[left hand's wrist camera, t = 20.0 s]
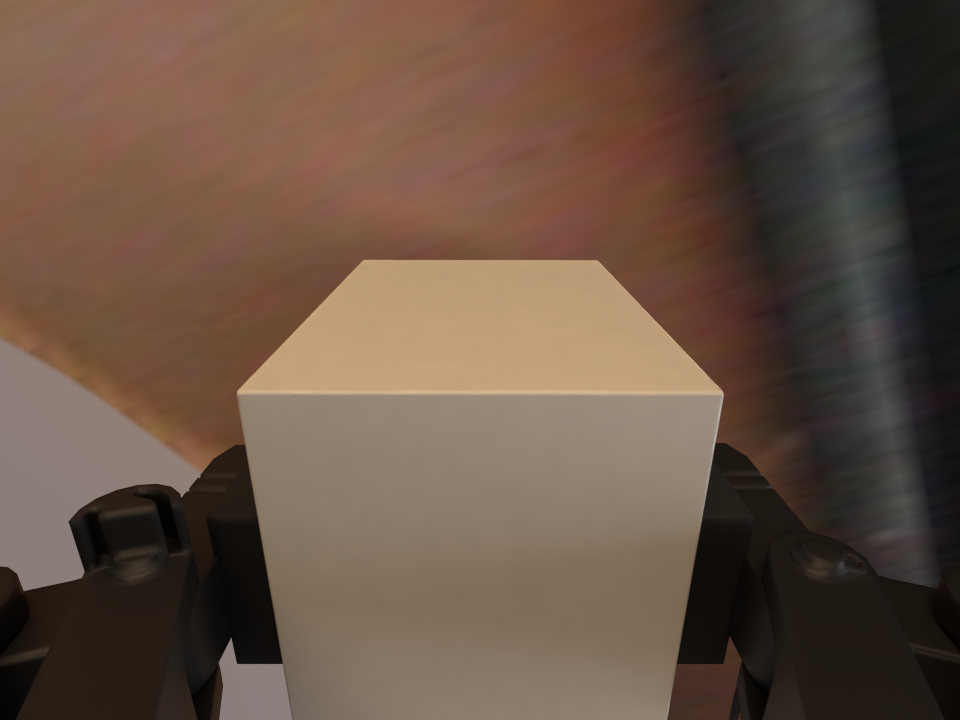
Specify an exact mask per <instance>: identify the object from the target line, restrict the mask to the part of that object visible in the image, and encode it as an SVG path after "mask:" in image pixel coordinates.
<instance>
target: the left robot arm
mask: <svg viewBox="0 0 960 720" xmlns="http://www.w3.org/2000/svg"><path fill="white" fill-rule="evenodd" d="M69 524H70V527H71V530H72V533H73V536H74V540H75V543H76V546H77V549H78V552H79V555H80V558H81V561H82V564H83V568H84V571H85V573H84V575H83V577H82V578H81V579H78V580H74V581H69V582H65V583H60V584H56V585H51V586H46V587H41V588H37V589H32V590H27V591H23V588H22V586H21V583H20V580H19V578H18V575H17V574H16V573H15V572H14V571H12V570H11V569H10V568H8V567H0V720H219V715H220V707H221V698H222V690H223V683H222V676H221V671H220V666H219V661H220V659H221V657H222V655H223V653H224V651H225V649H226V647H227V645H228V643H229V641H230V639H231V637H232V642H233V647H234V651H235V656H236V661H237V664H283V662H282V656H281V650H280V644H279V638H278V633H277V627H276V621H275V615H274V609H273V603H272V598H271V592H270V586H269V580H268V574H267V568H266V563H265V557H264V551H263V545H262V539H261V533H260V528H259V522H258V516H257V510H256V504H255V499H254V493H253V487H252V481H251V475H250V469H249V464H248V458H247V452H246V446H245V445H235V446H233V447H232V448H230V449H228V450H227V451H225V452H224V453H222V454H221V455H219V456H217V457H216V458H214V459H213V460H212V462H211V463H210V464H209V465H208V466H207V468H206V469H205V470H204V471H203V472H202V474H201V477H200V478H197V480H196V481H195V482H194V483H193V484H192V486H191V487H190V488H189V492H186V493H185V494H184V495H183V497H182V498H181V496H180V493H179V492H177V491H176V490H175V489H173V488H172V487H170V486H165V485H160V484H147V485H136V486H132V487H128V488H123V489H119V490H116V491H113V492H111V493H109V494H106V495H104V496H101V497H99V498H97V499H95V500H93V501H92V502H90V503H89V504H87V505H86V506H84V507H83V508H81V509H80V510H79V511H78V512H77V513H76V514H75V515H74V516H73V517H72V518H71V520H70V521H69ZM729 635H730V637H731V639H732V641H733V643H734V645H735V647H736V649H737V651H738V653H739V655H740V657H741V659H742V662H741V666H740V670H739V675H738V679H737V684H736V688H735V692H734V697H733V701H732V705H731V710H730V717H729V720H738V717H739V713H740V714H741V720H960V564H957V565H953V566H951V567H950V568H949V569H947V570H946V571H944V574H943V577H942V579H941V582H940V585H939V587H938V589H936V588H931V587H926V586H922V585H917V584H912V583H907V582H903V581H898V580H893V579H889V578H885V577H881V576H878V575H877V574H876V572H875V570H874V569H873V568H872V566H871V565H870V564H869V562H868V561H867V560H866V558H864V557H863V556H862V555H860V554H859V553H858V552H856V551H855V550H854V549H852V548H851V547H850V546H848V545H846V544H844V543H841V542H839V541H837V540H835V539H833V538H831V537H828V536H824V535H821V534H817V533H813V532H809V531H808V529H807V528H806V527H805V526H804V525H803V523H802V522H801V521H800V520H799V519H798V517H797V516H796V515H795V514H794V513H793V511H792V510H791V509H790V508H789V507H788V505H787V504H786V503H785V502H784V501H783V499H782V498H781V497H780V496H779V495H778V493H777V492H776V491H775V490H772V488H771V485H770V484H769V483H768V481H767V480H766V479H765V478H764V477H763V476H761V475H760V472H759V471H758V469H757V468H756V467H755V466H754V465H753V463H752V462H751V461H750V460H749V459H748V457H746V456H745V455H743V454H742V453H740V452H738V451H737V450H735V449H734V448H732V447H730V446H729V445H727V444H726V443H715V447H714V453H713V459H712V465H711V470H710V476H709V482H708V488H707V493H706V499H705V505H704V511H703V516H702V522H701V528H700V534H699V539H698V545H697V551H696V557H695V562H694V568H693V574H692V580H691V585H690V591H689V597H688V603H687V608H686V614H685V620H684V625H683V631H682V637H681V643H680V648H679V654H678V660H677V664H723V663H724V658H725V653H726V649H727V644H728V639H729Z"/></svg>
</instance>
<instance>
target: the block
mask: <svg viewBox="0 0 960 720" xmlns="http://www.w3.org/2000/svg"><path fill="white" fill-rule="evenodd" d="M723 396H724V394H723V391H722V390H721V389H720V388H719V387H718V386H717V385H716V384H715V383H714V382H713V381H712V380H711V379H710V378H709V377H708V375H707V374H706V373H705V372H704V371H703V370H702V369H701V368H700V367H699V366H698V365H697V364H696V363H695V362H694V361H693V360H692V359H691V358H690V357H689V356H688V355H687V354H686V352H685V351H684V350H683V349H682V348H681V347H680V346H679V345H678V344H677V343H676V342H675V341H674V340H673V339H672V338H671V337H670V336H669V335H668V334H667V333H666V332H665V330H664V329H663V328H662V327H661V326H660V325H659V324H658V323H657V322H656V321H655V320H654V319H653V318H652V317H651V316H650V315H649V314H648V313H647V312H646V311H645V310H644V309H643V307H642V306H641V305H640V304H639V303H638V302H637V301H636V300H635V299H634V298H633V297H632V296H631V295H630V294H629V293H628V292H627V291H626V290H625V289H624V288H623V287H622V286H621V284H620V283H619V282H618V281H617V280H616V279H615V278H614V277H613V276H612V275H611V274H610V273H609V272H608V271H607V270H606V269H605V268H604V267H603V266H602V265H601V264H600V262H599V261H597V260H363V261H362V262H361V263H360V264H359V265H358V266H357V267H356V268H355V269H354V270H353V271H352V272H351V273H350V274H349V276H348V277H347V278H346V279H345V280H344V281H343V282H342V283H341V284H340V285H339V286H338V287H337V288H336V289H335V290H334V291H333V292H332V293H331V294H330V295H329V296H328V297H327V298H326V299H325V300H324V301H323V303H322V304H321V305H320V306H319V307H318V308H317V309H316V310H315V311H314V312H313V313H312V314H311V315H310V316H309V317H308V318H307V319H306V320H305V321H304V322H303V323H302V324H301V325H300V326H299V327H298V328H297V330H296V331H295V332H294V333H293V334H292V335H291V336H290V337H289V338H288V339H287V340H286V341H285V342H284V343H283V344H282V345H281V346H280V347H279V348H278V349H277V350H276V351H275V352H274V353H273V354H272V355H271V356H270V358H269V359H268V360H267V361H266V362H265V363H264V364H263V365H262V366H261V367H260V368H259V369H258V370H257V371H256V372H255V373H254V374H253V375H252V376H251V377H250V378H249V379H248V380H247V381H246V382H245V383H244V385H243V386H242V387H241V388H240V389H239V390H238V391H237V399H238V405H239V411H240V417H241V423H242V429H243V434H244V440H245V446H246V452H247V458H248V464H249V469H250V475H251V481H252V487H253V493H254V499H255V504H256V510H257V516H258V522H259V528H260V533H261V539H262V545H263V551H264V557H265V563H266V568H267V574H268V580H269V586H270V592H271V598H272V603H273V609H274V615H275V621H276V627H277V633H278V638H279V644H280V650H281V656H282V662H283V668H284V673H285V679H286V685H287V691H288V697H289V703H290V708H291V714H292V720H667V717H668V712H669V706H670V700H671V694H672V689H673V683H674V677H675V671H676V666H677V660H678V654H679V648H680V643H681V637H682V631H683V625H684V620H685V614H686V608H687V603H688V597H689V591H690V585H691V580H692V574H693V568H694V562H695V557H696V551H697V545H698V539H699V534H700V528H701V522H702V516H703V511H704V505H705V499H706V493H707V488H708V482H709V476H710V470H711V465H712V459H713V453H714V447H715V442H716V436H717V430H718V424H719V419H720V413H721V407H722V401H723Z"/></svg>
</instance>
